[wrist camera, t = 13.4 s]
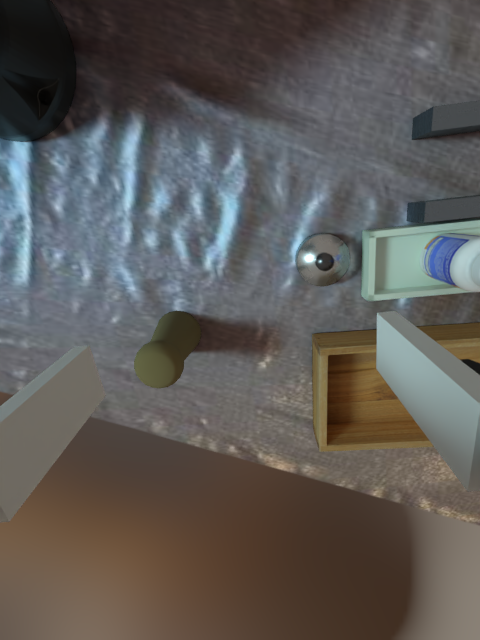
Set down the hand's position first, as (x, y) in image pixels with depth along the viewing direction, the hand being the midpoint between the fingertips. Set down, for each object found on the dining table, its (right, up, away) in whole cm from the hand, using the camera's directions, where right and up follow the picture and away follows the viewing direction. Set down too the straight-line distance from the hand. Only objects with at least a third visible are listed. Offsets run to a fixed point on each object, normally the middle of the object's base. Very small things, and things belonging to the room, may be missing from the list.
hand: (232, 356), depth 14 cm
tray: (+26, -6, +29) cm, 39 cm away
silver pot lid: (+10, +9, +24) cm, 28 cm away
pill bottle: (+24, +9, +23) cm, 35 cm away
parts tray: (+24, +9, +23) cm, 35 cm away
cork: (-8, 0, +28) cm, 29 cm away
